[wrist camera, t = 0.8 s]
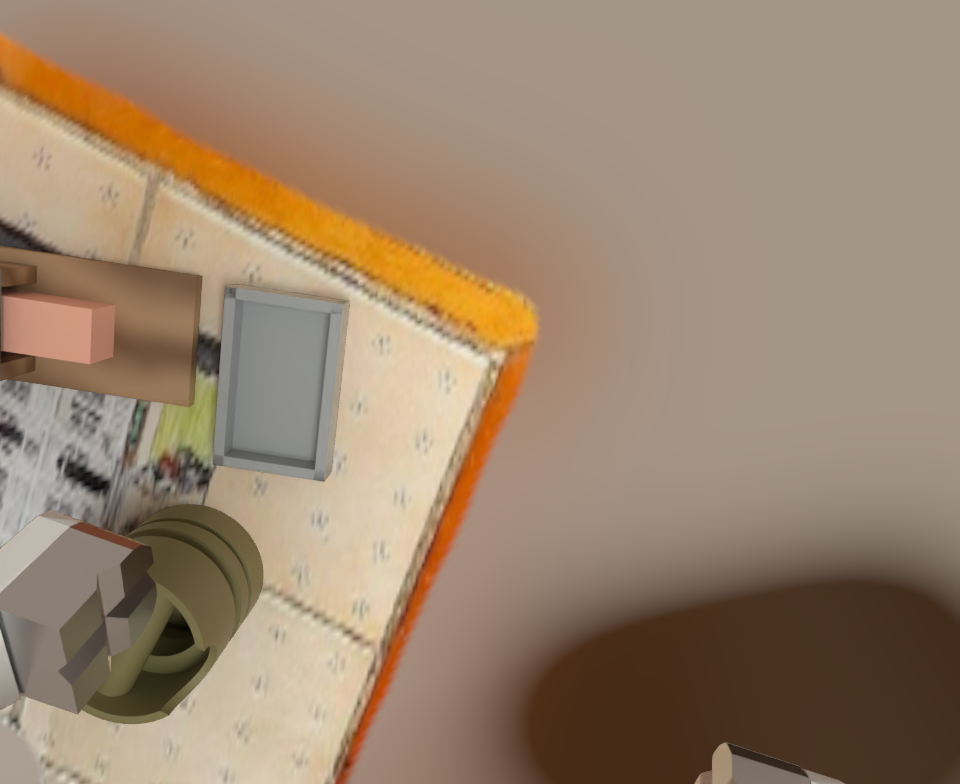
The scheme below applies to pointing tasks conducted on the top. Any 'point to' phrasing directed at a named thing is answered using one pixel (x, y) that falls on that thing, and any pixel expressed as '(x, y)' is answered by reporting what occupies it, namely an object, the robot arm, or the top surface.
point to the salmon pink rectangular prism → (56, 327)
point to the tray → (279, 381)
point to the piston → (182, 611)
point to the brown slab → (137, 332)
